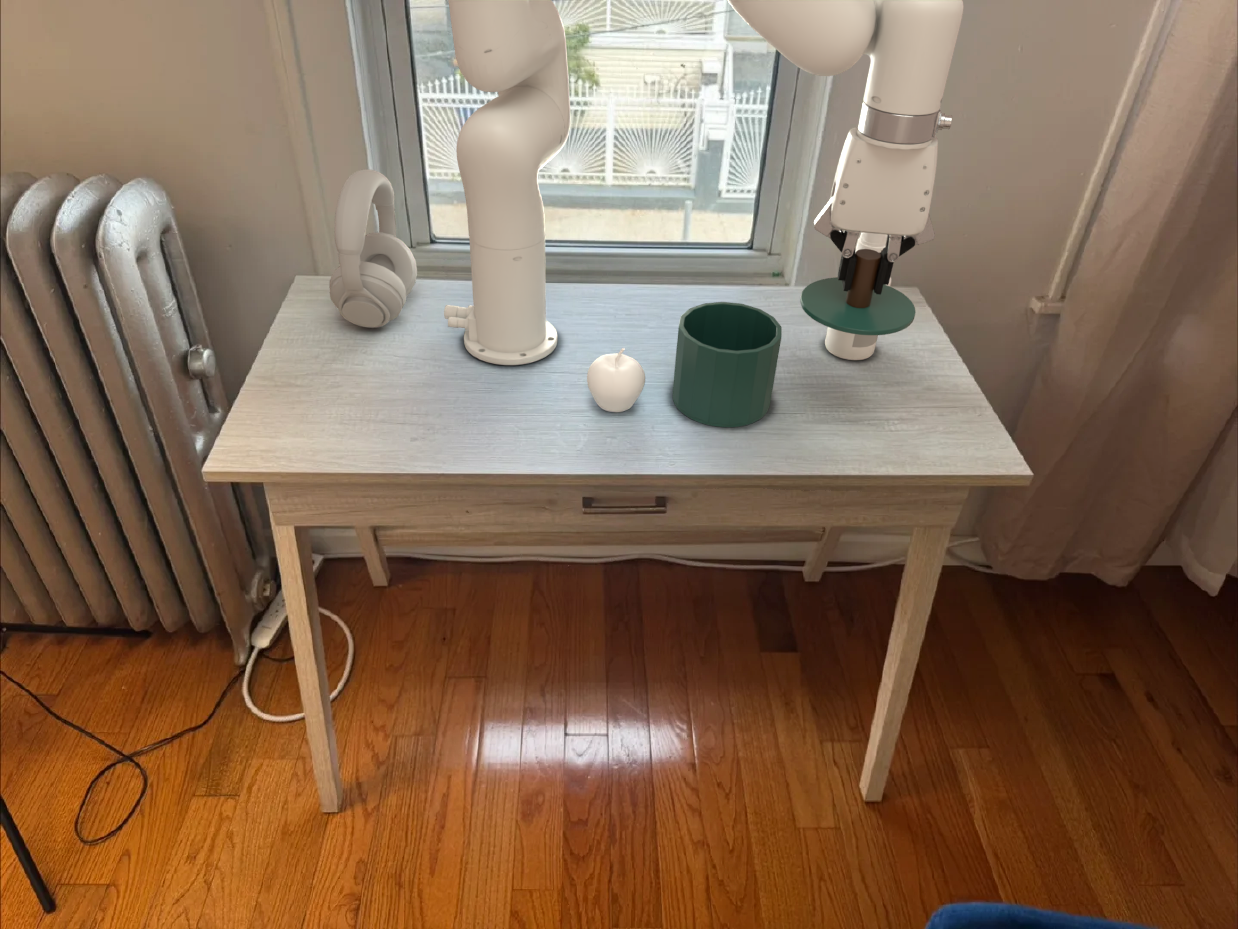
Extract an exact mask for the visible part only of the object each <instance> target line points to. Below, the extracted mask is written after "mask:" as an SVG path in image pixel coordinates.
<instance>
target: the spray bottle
mask: <svg viewBox="0 0 1238 929" xmlns="http://www.w3.org/2000/svg"><path fill="white" fill-rule="evenodd" d="M886 237H887V235H886V234H874V233H864V232H860V234H859V237H858V239H857V242H856V246H855V253H856V251H857V250H860V249H870V250H874V251H877V252H878V253H879V252H880V253H881V250H883V248H885V245H886ZM891 285H892V277H891V276H890V280H889V284H888V285H887V286H890V287H891ZM878 338H879V335H858V334H851V333H846V332H842V331H838V330H835V329H832V328H829V327H827V329H826V334H825V339H824V344H825V349H826V350H827V351H828V352H829V353H830V354H832V355H833V356H835V357H837V358H839V359H842V360H843V359H844V360H849V361H862V360H867V359H868V358H870V357H871V356H873V354H874V353H875V349H876V346H877V342H878Z"/></svg>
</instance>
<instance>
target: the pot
mask: <svg viewBox="0 0 1238 929" xmlns="http://www.w3.org/2000/svg"><path fill="white" fill-rule="evenodd" d="M782 330H783V329H782V326H781V324H780V323H779V322H778V321H777V319H776V318H775V317H774V316H773V315H771V314H769V313H767V312H766V311H765V310H762V309H761V308H758V307H754V306H752V305H748V304H745V303H741V302H738V303H737V302H729V301H716V302H706V303H705V302H704V303H701V304H699V305H695V306H692V307H690V308H688V309H687V310H686V311H685V312H683V313H682V314H681V315H680V316H679V323H678V331H677V340H676V352H675V361H674V373H673V382H672V392H671V393H672V394H671V396H672V401H673V404H674V405H675V407H676V409H678V411H679V412H680V413H682V414H683V415H684V416H686V417H687V418H688V419H691V420H692V421H695V422H697V423H699V424H702V425H707V426H712V427H717V428H739V427H744V426H748V425H751V424H754V423H756V422H757V421H760V420H761V419H762V418H763V417H764V416H766V414H767V413H768V411H769V408H770V406H771V401H772V395H773V389H774V383H775V378H776V373H777V372H776V371H777V366H778V361H779V360H778V359H779V355H780V349H781V342H782V337H783V335H782V333H783V332H782Z"/></svg>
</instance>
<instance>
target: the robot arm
mask: <svg viewBox="0 0 1238 929" xmlns="http://www.w3.org/2000/svg"><path fill="white" fill-rule="evenodd" d="M447 1H448V7H449V9H448V10H449V17H450V23H451V24H450V25H451V31H452V40H453V47H454V48H453V49H454V55H455V59H456V63H457V65H458V68H459V71H460V74H461V75H462V76H463V78H464V79H465V81H466V82H467V83H468V84H469V85H470V86H472V88H475V89H476V90H479V91H480V92H485V93H497V94H498V95H497V96H495V97H494V98H492V99H491V100H490V101H488V102H486V103H485V104H484V105H482V106H480V107H479V108H477V110H475V111H474V112H473V113H472V114H471V115H470V116H469V117H468V118H467V119H466V121H465V122H464V124H463V125H462V127H461V128H460V131H459V132H458V133H459V134H458V136H457V141H456V149H455V150H456V160H457V166H458V171H459V174H460V178H461V183H462V186H463V192H464V198H465V206H466V215H467V216H466V217H467V230H468V239H469V255H470V256H469V257H470V271H471V273H470V274H471V287H472V302H473V305H467V307H466V306H465V307H463V306H459V305H452V304H445V306H444V309H443V316H444V317H443V318H444V320H447V327H448V328H453V329H454V328H455V329H456V328H457V329H458V328H460V329H464V334H463V344H464V347H465V349H466V351H467V352H468V353H469V354H470V355H471V356H472V357H474V358H476V359H477V360H480V361H482V362H486V363H490V364H493V365H500V366H519V365H527V364H531V363H534V362H539V361H540V360H542V359H544V358H546V357H547V356H549V355H550V354H552V353H553V351H554V350H555V349H556V348H557V345H558V331H557V329H556V327H555V326H554V324H552V323H551V322H549V321H548V320H547V303H546V302H547V301H546V300H547V297H546V296H547V295H546V294H547V293H546V290H547V289H546V288H547V287H546V286H547V284H546V282H547V281H546V276H547V275H546V222H545V221H546V219H545V218H546V217H545V207H544V202H543V199H542V194H541V191H540V187H539V172H540V170H541V169H543V168H544V166H546V165H547V163H549V162H550V161H552V160H553V159H554V158H555V157H556V156H557V155H558V154H559V153H560V152H561V150H562V149H563V148H564V146H565V145H566V142H567V141H568V139H569V135H570V130H571V120H572V119H571V115H572V114H571V113H572V112H571V97H570V95H571V94H570V82H569V67H568V50H567V48H568V47H567V40H566V39H567V38H566V32H565V26H564V22H563V20H562V17H561V15H560V12H559V10H558V8H557V7H556V5H555V3H554V2H553V1H552V0H447ZM726 1H727V3H728V4H729V5H730V6H731V7H732V9H733V10H734V11H735V12H736V14H738V16H740V18H741V19H742V20H743V21H744V22H745V23H747V26H749V27H750V28H751V29H752V30H753V31H754V32H756V34H758V35H759V36H760V37H761V38H762V39H763V40H764V41H766V42H767V43H768V44H769V45H771V47H773V48H774V49H775V50H776V51H777V52H779V54H780V55H782V56H784V57H785V59H787V60H788V61H789V62H790V63H792V64H793V65H794V66H796V67H797V68H799V69H800V70H802V71H804V72H807V73H808V74H811V75H813V76H818V77H832V76H837V75H840V74H842V73H845V72H846V71H848V70H850V69H851V68H853V66H854V65H856V64H857V63H858V62H859V60H860V59H861V58H862V56H865V55H867V56H868V57H869V59H870V63H869V67H868V68H869V69H868V74H867V79H866V84H865V89H864V94H863V100H862V106H861V110H860V115H859V120H858V125H857V126H855V127H851V128H850V129H849V131H848V133H847V136H846V139H845V141H844V144H843V146H842V150H841V152H840V156H839V159H838V163H837V165H836V166H837V167H836V171H835V174H834V178H833V184H832V186H831V187H832V188H831V190H830V191H831V192H830V197H829V200H828V201H827V203H826V204H825V205H824V207H823V208H822V209H821V211H820V212H819V213H818V215H817V216H816V218H815V219H814V220H813V228H814V230H816V232H818V233H819V234H822V235H823V236H824V237H826V238H829V239H830V240H831V242H832V243H833V244H834V245H835V247H836V248H837V249H838V250H839V252H840V253H841V255H840V256H841V257H840V261H839V265H838V266H839V267H838V271H837V277H838V280H841V281H842V284H843V291H848V290H850V289H851V284H852V279H853V275H854V270H855V265H856V256H855V251H856V246H857V242H858V238H859V237H860V233H861V232H864V233H874V234H886V235H887V237H886V245H885V248H883V250H881V253H880V252H879V253H880V254H881V259H880V264H879V268H878V272H877V277H876V281H875V286H874V293H876V294H879V295H881V293H882V288H883V285H888V284H889V280H890V277H891V276H892V271H893V267H894V263H895V262H897V261H898V260H899V258H900V257H901V256H902V255H904V254H906V253H907V252H909V251H910V250H911V249H913V248H914V247H915V246H919V245H923V244H927V243H928V242H931V241H934V239H936V233H935V230H934V226H933V222H932V218H931V215H930V208H931V203H932V199H933V193H934V186H935V179H936V174H937V166H938V165H937V164H938V152H939V141H938V137H937V136H936V134H937V133H938V132H939V131H942V130H950V129H951V127H952V122H953V115H952V114H951V115H950V114H945V113H944V112H942V110H941V105H942V101H943V97H944V93H945V89H946V85H947V81H948V76H949V73H950V70H951V69H950V68H951V64H952V60H953V58H954V57H953V56H954V52H955V48H956V44H957V39H958V36H959V32H960V28H961V23H962V20H963V15H964V1H963V0H726Z"/></svg>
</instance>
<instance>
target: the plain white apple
mask: <svg viewBox="0 0 1238 929" xmlns="http://www.w3.org/2000/svg"><path fill="white" fill-rule="evenodd" d="M625 350H626V348H625V347H622V348H621V349H620V350H619V352H618V353H606V354H602V355H600V356H599V357H597V358H596V359H595V360H594V361H593V362H592V363H591V364H590V366H589V367H588V370H587V374H586V382H587V383H586V384H587V387H588V390H589V393H590V394H591V396H592V398H593V399H594V401H595V403H596V404H597V406H598V407H600V408H601V409H602V410H603V411H606V412H611V413H623V412H624V411H627V410H629V409H631V408H632V407H633V406H634V404H635V403H636V401H637V400H638V398H639V397H640V395H641V394H642V392H643V390H644V387H645V384H646V373H645V370H644V368H643V367H642V365H641V364H640V363H639V361H638V360H636V359H635V358H633V357H631V356H629V355H626V354H624V351H625Z"/></svg>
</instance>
